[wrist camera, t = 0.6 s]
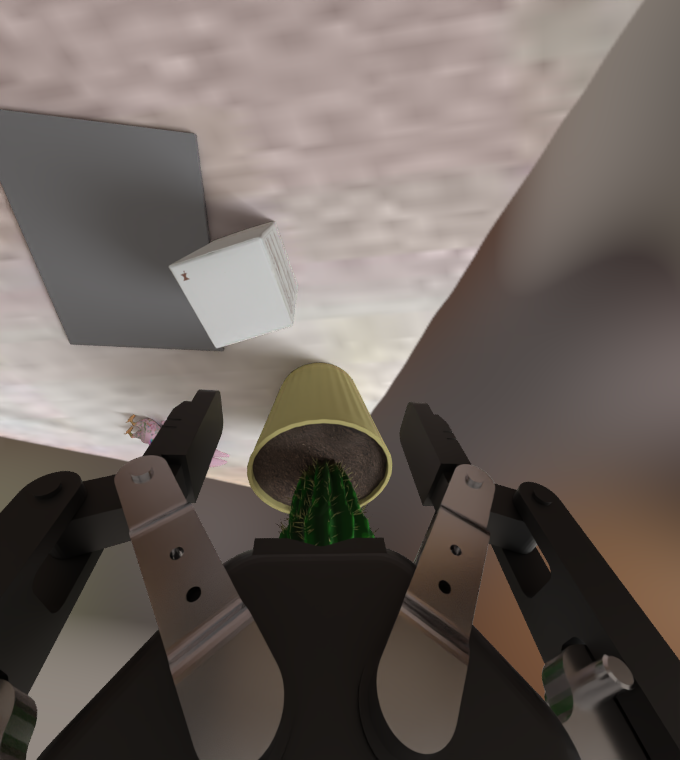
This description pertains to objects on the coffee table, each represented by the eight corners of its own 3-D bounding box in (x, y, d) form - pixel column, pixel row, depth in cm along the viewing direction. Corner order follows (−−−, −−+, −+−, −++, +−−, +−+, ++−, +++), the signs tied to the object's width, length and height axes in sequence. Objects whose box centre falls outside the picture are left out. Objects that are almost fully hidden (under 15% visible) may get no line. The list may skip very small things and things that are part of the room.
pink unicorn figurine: (136, 429, 47) (227, 464, 49) (107, 456, 42) (211, 493, 44) (141, 399, 44) (237, 438, 46) (111, 424, 39) (221, 466, 41)
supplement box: (241, 303, 36) (212, 351, 25) (212, 239, 32) (163, 263, 21) (300, 286, 36) (295, 328, 25) (277, 219, 32) (259, 234, 21)
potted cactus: (337, 328, 39) (383, 586, 14) (386, 406, 46) (474, 663, 21) (243, 382, 42) (140, 670, 17) (304, 446, 50) (295, 711, 25)
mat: (-26, 106, 25) (-33, 105, 25) (196, 134, 27) (194, 133, 27) (73, 342, 37) (70, 344, 36) (224, 349, 39) (222, 351, 39)
